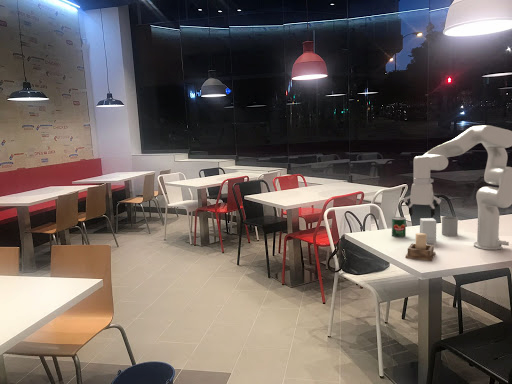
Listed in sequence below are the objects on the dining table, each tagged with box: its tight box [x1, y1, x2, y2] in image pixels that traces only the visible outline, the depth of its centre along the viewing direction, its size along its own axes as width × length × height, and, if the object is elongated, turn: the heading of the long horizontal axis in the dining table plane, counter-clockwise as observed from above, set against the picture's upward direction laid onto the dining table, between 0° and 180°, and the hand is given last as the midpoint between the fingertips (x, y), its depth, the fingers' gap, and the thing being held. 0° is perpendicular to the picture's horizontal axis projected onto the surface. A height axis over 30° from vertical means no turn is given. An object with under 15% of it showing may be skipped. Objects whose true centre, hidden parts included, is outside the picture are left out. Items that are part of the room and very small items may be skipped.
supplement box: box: [419, 217, 437, 244], centre depth 220 cm, size 7×7×13 cm
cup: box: [441, 216, 459, 237], centre depth 233 cm, size 8×8×10 cm
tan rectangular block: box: [414, 232, 427, 250], centre depth 196 cm, size 5×5×10 cm
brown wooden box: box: [405, 243, 436, 262], centre depth 196 cm, size 12×12×4 cm
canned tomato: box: [391, 216, 407, 239], centre depth 234 cm, size 8×8×11 cm
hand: (421, 215), depth 194 cm, fingers open, 9 cm apart
